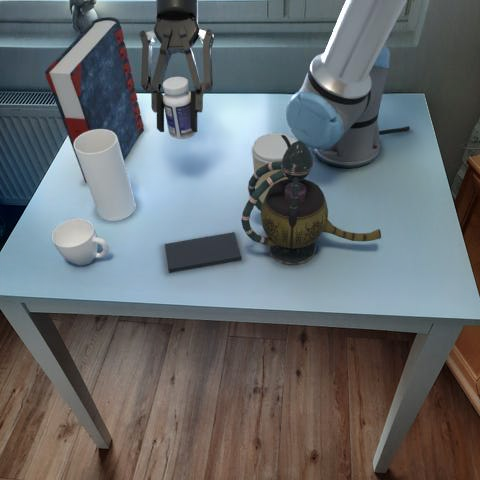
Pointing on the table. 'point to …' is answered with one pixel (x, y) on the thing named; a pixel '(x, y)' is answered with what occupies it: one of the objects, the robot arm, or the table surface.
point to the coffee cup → (269, 155)
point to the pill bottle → (178, 107)
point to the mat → (202, 252)
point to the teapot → (292, 209)
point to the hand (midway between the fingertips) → (177, 129)
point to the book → (97, 85)
